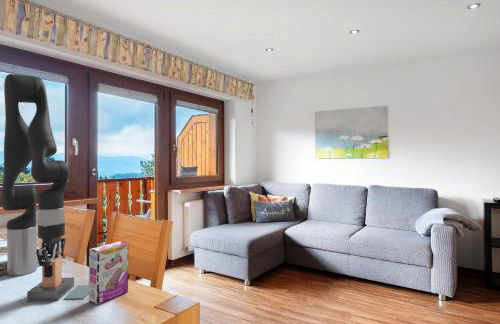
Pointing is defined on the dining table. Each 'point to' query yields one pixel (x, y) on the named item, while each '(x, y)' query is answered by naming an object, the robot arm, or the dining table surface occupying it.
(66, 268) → the dining table surface
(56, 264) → the plug
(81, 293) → the mat
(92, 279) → the candy bar box
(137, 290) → the dining table surface
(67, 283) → the grey socket frame
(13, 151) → the robot arm
